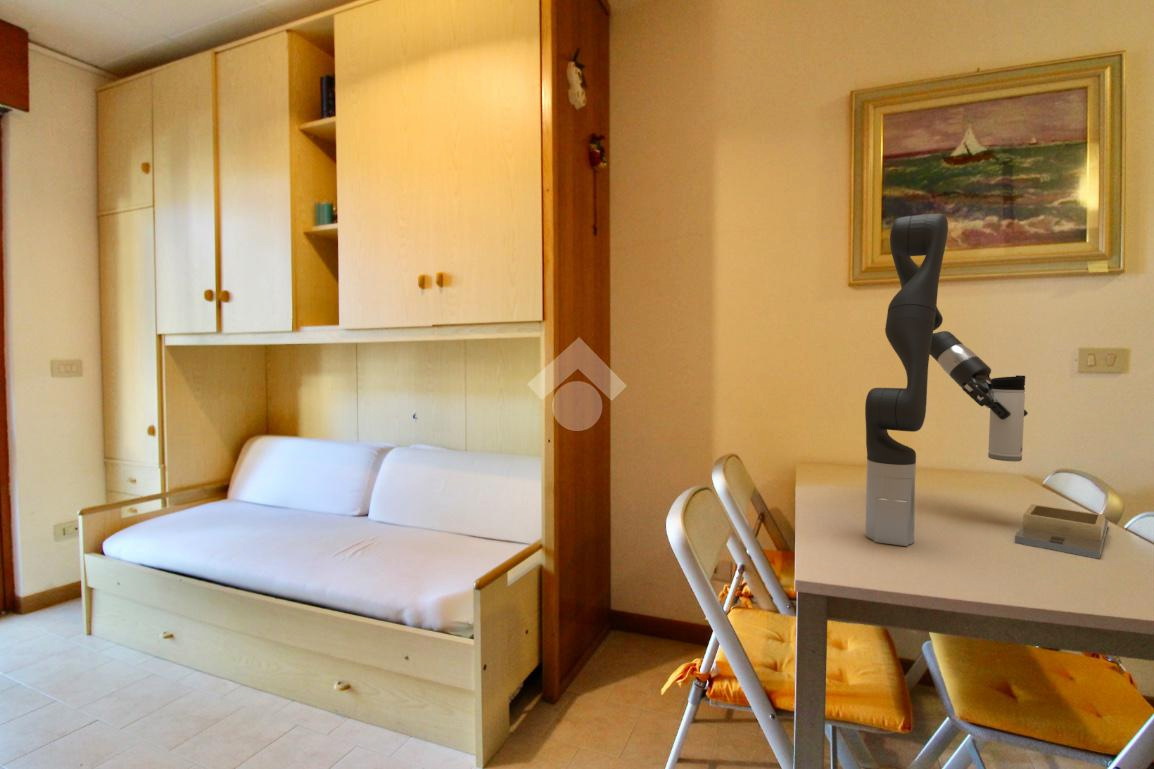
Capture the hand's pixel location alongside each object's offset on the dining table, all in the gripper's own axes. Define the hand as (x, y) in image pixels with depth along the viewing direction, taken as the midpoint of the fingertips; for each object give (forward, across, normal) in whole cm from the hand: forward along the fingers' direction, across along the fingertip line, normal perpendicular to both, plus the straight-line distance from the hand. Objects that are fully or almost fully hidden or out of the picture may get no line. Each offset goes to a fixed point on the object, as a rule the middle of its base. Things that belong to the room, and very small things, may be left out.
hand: (1015, 416), depth 124 cm
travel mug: (+6, 0, +9) cm, 11 cm away
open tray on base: (+24, +4, +12) cm, 28 cm away
